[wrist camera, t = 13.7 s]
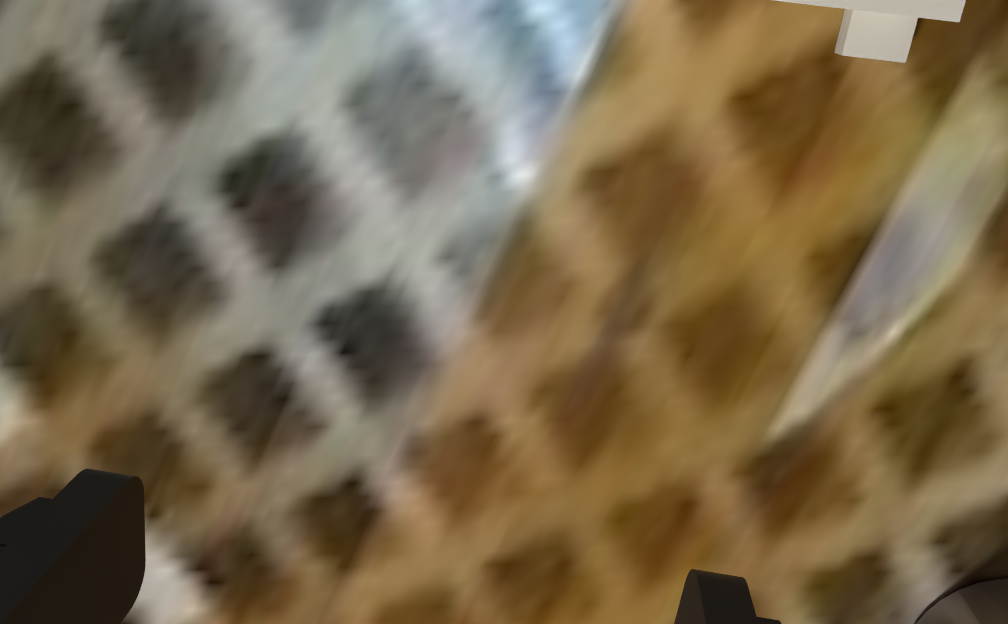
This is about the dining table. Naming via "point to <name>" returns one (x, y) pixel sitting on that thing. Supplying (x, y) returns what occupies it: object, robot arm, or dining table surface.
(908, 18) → the rail
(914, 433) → the dining table surface
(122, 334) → the dining table surface
